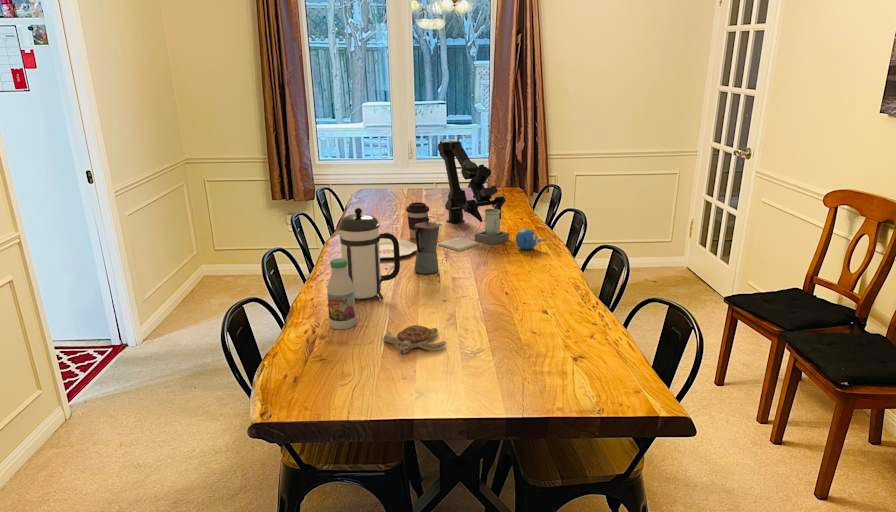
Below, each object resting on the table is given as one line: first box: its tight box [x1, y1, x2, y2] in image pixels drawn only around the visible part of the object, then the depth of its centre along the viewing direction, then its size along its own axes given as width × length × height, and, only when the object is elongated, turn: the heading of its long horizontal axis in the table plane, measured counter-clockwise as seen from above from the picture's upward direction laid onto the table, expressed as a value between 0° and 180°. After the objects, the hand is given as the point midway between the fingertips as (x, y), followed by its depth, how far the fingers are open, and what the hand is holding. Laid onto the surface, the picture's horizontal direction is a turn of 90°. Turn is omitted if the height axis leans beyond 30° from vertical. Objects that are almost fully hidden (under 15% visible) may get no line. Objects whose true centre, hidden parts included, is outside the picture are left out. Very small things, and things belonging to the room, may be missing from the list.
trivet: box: [437, 236, 480, 252], centre depth 244 cm, size 12×12×1 cm
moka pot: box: [414, 217, 440, 275], centre depth 211 cm, size 10×15×20 cm, turn 161°
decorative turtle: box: [382, 324, 447, 355], centre depth 159 cm, size 18×17×5 cm
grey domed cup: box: [484, 208, 501, 237], centre depth 248 cm, size 9×7×13 cm
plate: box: [379, 238, 418, 260], centre depth 236 cm, size 25×25×2 cm
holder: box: [474, 229, 510, 246], centre depth 250 cm, size 10×10×3 cm
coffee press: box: [334, 207, 401, 302], centre depth 187 cm, size 17×16×30 cm
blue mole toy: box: [515, 228, 546, 251], centre depth 237 cm, size 12×12×8 cm
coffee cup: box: [405, 201, 430, 240], centre depth 253 cm, size 10×10×15 cm
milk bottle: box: [326, 257, 357, 330], centre depth 167 cm, size 8×8×20 cm
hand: (491, 220), depth 249 cm, fingers open, 9 cm apart
